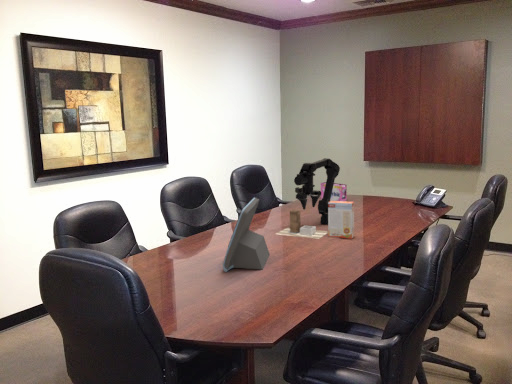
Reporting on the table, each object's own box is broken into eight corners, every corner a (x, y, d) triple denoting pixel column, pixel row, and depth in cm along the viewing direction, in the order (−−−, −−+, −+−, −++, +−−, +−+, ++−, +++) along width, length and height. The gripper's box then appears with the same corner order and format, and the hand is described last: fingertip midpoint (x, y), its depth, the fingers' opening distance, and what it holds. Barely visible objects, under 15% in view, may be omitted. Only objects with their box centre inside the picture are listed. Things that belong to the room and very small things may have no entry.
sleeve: (304, 231, 291) (304, 225, 291) (315, 233, 288) (315, 226, 287) (300, 234, 285) (299, 228, 284) (311, 235, 282) (311, 229, 281)
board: (287, 228, 304) (287, 227, 304) (329, 232, 290) (329, 231, 290) (274, 235, 288) (274, 233, 288) (318, 239, 275) (318, 238, 275)
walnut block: (294, 230, 295) (294, 209, 292) (300, 231, 291) (300, 210, 289) (290, 231, 291) (289, 210, 289) (295, 233, 288) (295, 211, 286)
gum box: (348, 201, 388) (348, 184, 386) (341, 202, 384) (341, 185, 381) (327, 197, 407) (327, 181, 405) (320, 198, 403) (320, 182, 400)
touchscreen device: (235, 250, 257) (235, 195, 252) (271, 252, 254) (272, 197, 249) (219, 272, 223) (219, 209, 218) (261, 275, 220) (261, 210, 215)
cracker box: (354, 236, 279) (354, 201, 276) (351, 239, 274) (352, 203, 270) (330, 234, 285) (330, 200, 282) (328, 237, 280) (327, 201, 276)
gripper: (307, 180, 309) (307, 204, 311) (288, 184, 296) (289, 209, 298) (321, 182, 301) (321, 206, 304) (302, 185, 288) (303, 211, 291)
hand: (308, 208), depth 299 cm, fingers open, 9 cm apart
